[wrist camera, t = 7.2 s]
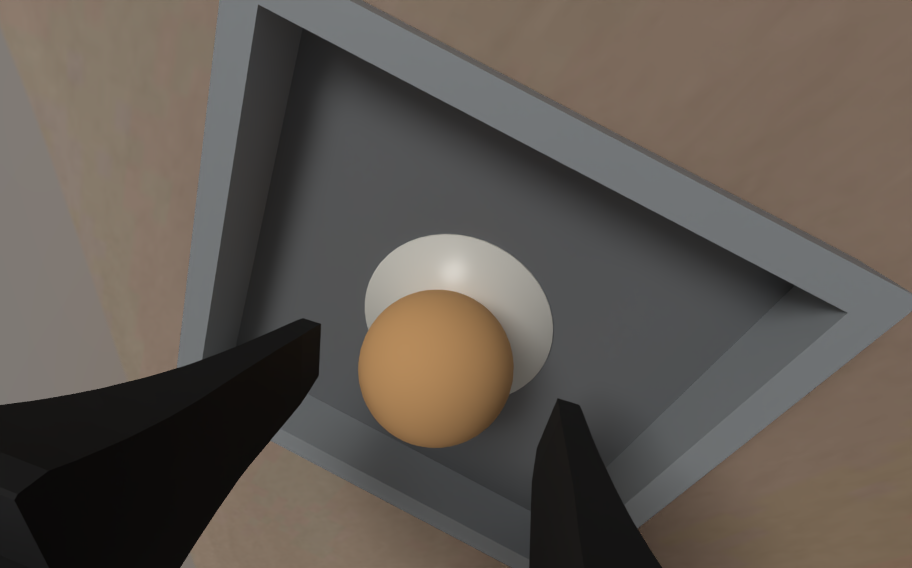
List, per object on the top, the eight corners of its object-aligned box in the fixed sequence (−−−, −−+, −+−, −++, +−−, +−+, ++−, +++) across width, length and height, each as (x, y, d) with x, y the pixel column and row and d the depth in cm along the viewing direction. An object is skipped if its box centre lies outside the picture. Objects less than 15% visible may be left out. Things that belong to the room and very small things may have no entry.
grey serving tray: (857, 259, 12) (924, 300, 10) (558, 534, 19) (557, 591, 17) (289, -38, 12) (227, -64, 10) (218, 355, 20) (174, 389, 17)
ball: (536, 287, 14) (525, 379, 10) (502, 394, 16) (480, 506, 12) (400, 249, 14) (332, 321, 10) (385, 357, 17) (325, 453, 12)
